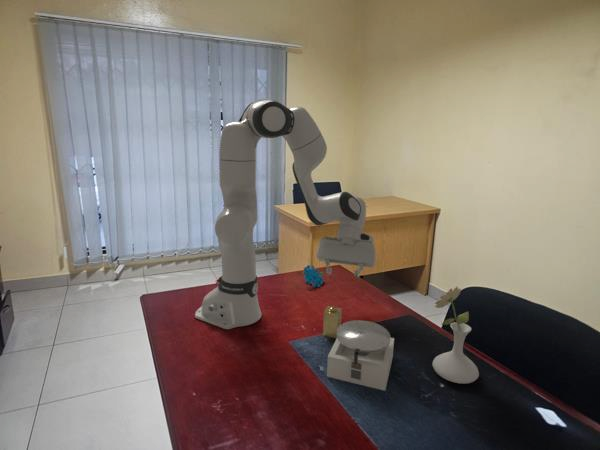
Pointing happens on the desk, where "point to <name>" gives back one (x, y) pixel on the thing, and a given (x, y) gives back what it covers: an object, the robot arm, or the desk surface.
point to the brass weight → (331, 321)
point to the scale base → (360, 366)
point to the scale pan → (363, 337)
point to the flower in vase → (455, 347)
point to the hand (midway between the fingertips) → (342, 274)
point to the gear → (313, 276)
